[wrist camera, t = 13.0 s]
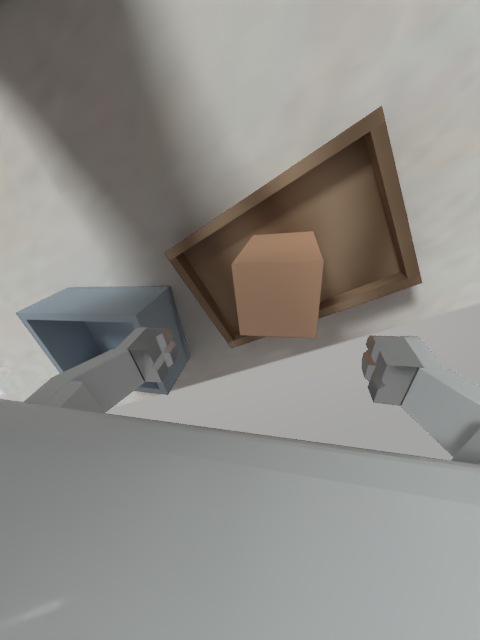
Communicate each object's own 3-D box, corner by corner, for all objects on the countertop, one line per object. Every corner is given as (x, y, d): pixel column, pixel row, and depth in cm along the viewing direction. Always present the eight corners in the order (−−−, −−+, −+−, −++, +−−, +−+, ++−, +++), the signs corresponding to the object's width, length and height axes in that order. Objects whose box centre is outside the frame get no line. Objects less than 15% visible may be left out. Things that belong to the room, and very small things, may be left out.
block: (253, 235, 19) (231, 264, 13) (313, 231, 18) (323, 261, 11) (256, 288, 22) (240, 335, 15) (309, 287, 21) (316, 338, 14)
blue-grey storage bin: (68, 287, 28) (15, 312, 23) (169, 286, 25) (135, 315, 20) (103, 351, 34) (67, 383, 28) (190, 356, 30) (167, 394, 25)
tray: (236, 335, 27) (231, 348, 25) (176, 246, 22) (164, 253, 20) (408, 271, 19) (421, 282, 17) (369, 116, 15) (381, 105, 12)
